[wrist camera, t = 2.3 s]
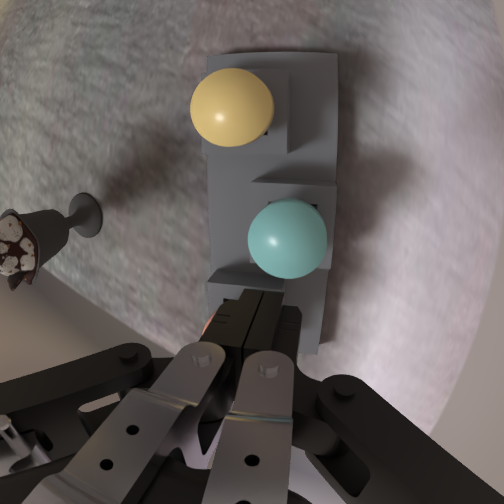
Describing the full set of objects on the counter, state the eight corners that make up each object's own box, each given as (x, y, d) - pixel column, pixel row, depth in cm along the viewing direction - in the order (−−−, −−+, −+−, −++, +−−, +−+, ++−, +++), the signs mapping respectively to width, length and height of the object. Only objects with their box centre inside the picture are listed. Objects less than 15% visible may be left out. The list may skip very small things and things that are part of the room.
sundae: (75, 173, 29) (-42, 210, 15) (117, 209, 29) (-1, 268, 15) (58, 220, 31) (-43, 270, 18) (95, 256, 32) (-4, 324, 18)
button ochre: (212, 81, 20) (190, 71, 16) (279, 78, 19) (270, 66, 15) (212, 145, 22) (190, 147, 18) (279, 145, 21) (270, 147, 17)
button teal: (260, 189, 22) (247, 200, 18) (327, 193, 21) (329, 205, 18) (259, 252, 24) (247, 275, 20) (323, 257, 23) (323, 281, 19)
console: (213, 60, 22) (195, 48, 19) (336, 58, 20) (339, 44, 17) (219, 334, 32) (207, 357, 28) (317, 345, 30) (316, 371, 26)
